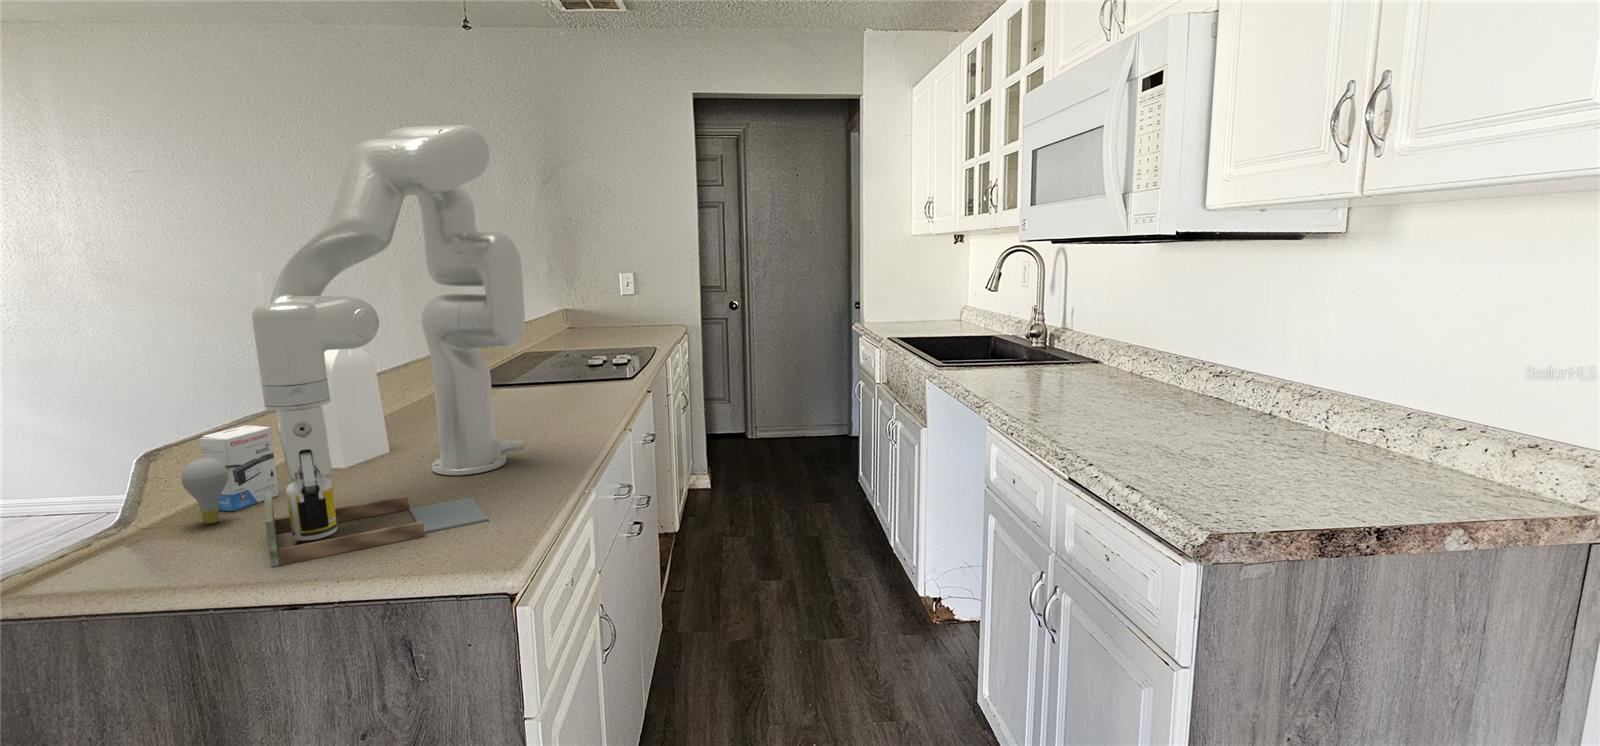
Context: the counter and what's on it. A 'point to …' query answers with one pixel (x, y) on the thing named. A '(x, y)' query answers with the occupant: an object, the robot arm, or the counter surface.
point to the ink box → (243, 464)
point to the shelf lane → (344, 542)
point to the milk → (353, 408)
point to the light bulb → (206, 485)
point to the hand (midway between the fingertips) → (313, 520)
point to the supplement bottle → (294, 512)
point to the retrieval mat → (448, 514)
